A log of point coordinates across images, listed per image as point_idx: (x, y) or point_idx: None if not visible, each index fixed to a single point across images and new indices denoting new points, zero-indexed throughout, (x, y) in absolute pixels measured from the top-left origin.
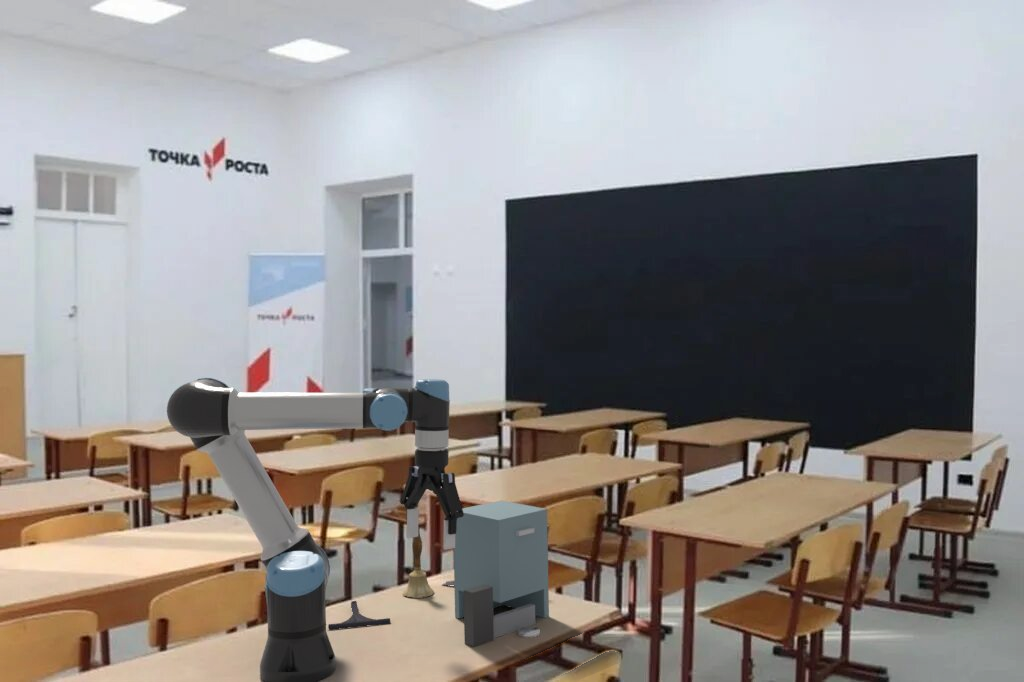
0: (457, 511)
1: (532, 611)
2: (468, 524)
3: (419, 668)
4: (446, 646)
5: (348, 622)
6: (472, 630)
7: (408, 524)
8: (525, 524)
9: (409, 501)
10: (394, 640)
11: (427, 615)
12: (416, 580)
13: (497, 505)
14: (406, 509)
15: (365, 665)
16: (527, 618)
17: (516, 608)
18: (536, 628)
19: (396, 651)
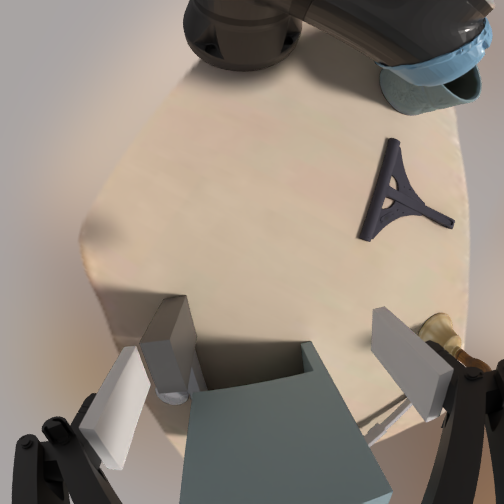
0: (372, 499)
1: None
2: (312, 491)
3: (130, 178)
4: (193, 264)
5: (389, 170)
6: (159, 309)
7: (402, 334)
8: None
9: (467, 405)
10: (278, 201)
11: (352, 309)
12: (442, 339)
13: None
14: (466, 368)
15: (197, 108)
16: None
17: None
18: (173, 402)
19: (224, 179)
